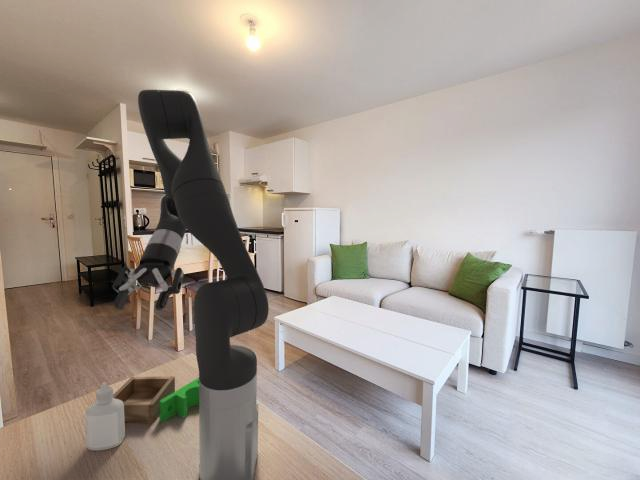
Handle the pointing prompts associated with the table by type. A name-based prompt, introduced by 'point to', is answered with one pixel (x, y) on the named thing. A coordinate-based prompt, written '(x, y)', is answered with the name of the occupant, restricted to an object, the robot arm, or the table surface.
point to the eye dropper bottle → (105, 421)
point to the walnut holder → (144, 397)
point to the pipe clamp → (180, 401)
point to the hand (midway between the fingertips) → (138, 308)
